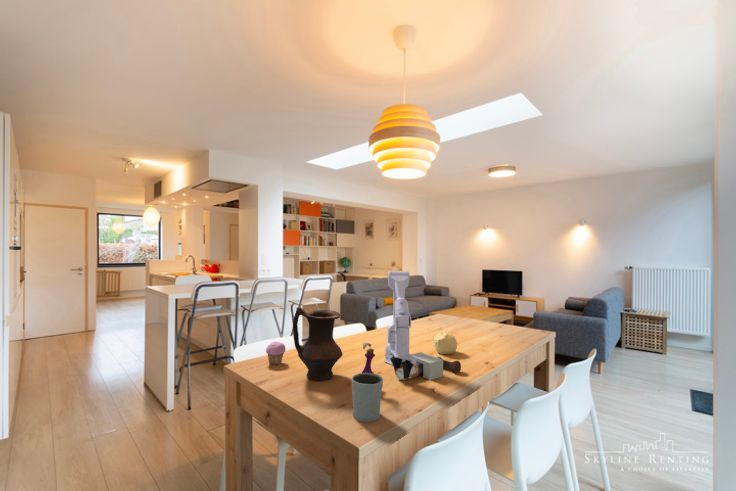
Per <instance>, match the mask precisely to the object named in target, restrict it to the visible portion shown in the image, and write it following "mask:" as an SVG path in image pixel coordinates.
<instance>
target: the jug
mask: <svg viewBox="0 0 736 491" xmlns="http://www.w3.org/2000/svg"><path fill="white" fill-rule="evenodd" d="M300 316H302V317H305V318H306V320H307V321H308V337H307V340H306V341H305V343H304V344H303V345H302V344H300V342H299V341H300V337H299V329H298V328H299V327H298V325H299V324H298V323H299V318H300ZM340 318H341V314H340V313H339V312H338V311H336V310H330V309H317V310H315V309H314V310H310V311H305V309H303V307H301V306H299V305H298V306H297V307H296V310H295V313H294V316H293V319H292V335H293V336H292V337H293V342H294V348H295V350H296V353H297V355H298V357H299V359H300V360H301V361H302V363H303V364H304V365H305V366H306V368H307V372H306V377H307V379H309V380H310V381H314V382H324V381H327V380H330V379H332V378H333V377H334V373H333V368H334V366H335V365H336V363H337V362H338V361H339V360H340V359H341V358H342V357H343V354H344V353H343V351H342V349H341V347H340V345H339V344H337V342H336V341H335V338H334V335H333V334H334V327H335V326H334V325H335V322H336V320H338V319H340Z"/></svg>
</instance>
